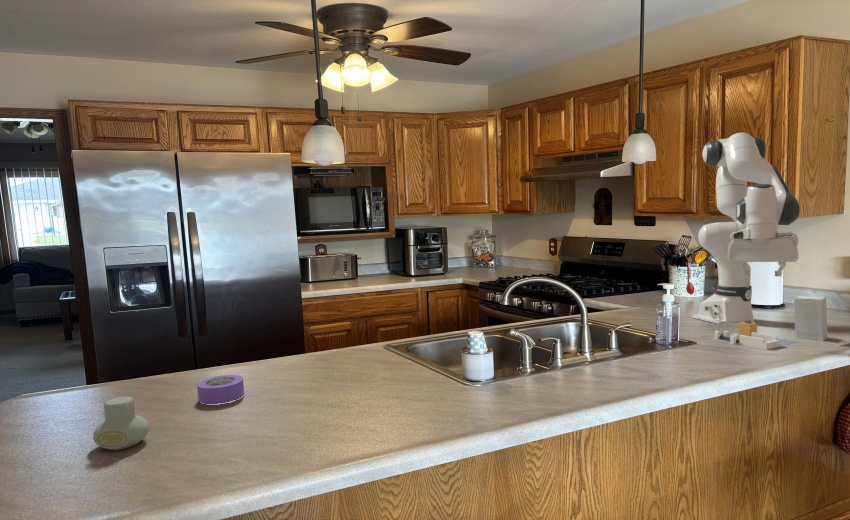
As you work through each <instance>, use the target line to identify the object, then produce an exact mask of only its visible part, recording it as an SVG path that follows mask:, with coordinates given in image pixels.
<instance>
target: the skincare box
mask: <svg viewBox="0 0 850 520" xmlns="http://www.w3.org/2000/svg"><path fill="white" fill-rule="evenodd" d="M793 302H794V305H793V307H794V308H793V309H794V338H795V339H801V340H810V341H820V342H824V341H825V340H827V339H828V321H827V320H828V319H827V316H828V315H827V313H828V312H827V296H821V295H820V296H817V295H816V296H815V295H814V296H813V295H798V296H795V297H794V299H793Z"/></svg>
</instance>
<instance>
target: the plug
mask: <svg viewBox="0 0 850 520" xmlns="http://www.w3.org/2000/svg"><path fill="white" fill-rule="evenodd" d="M737 332H738V335H745V336H750V337H751V332H755V333H758V323H757V322H754V323H753V322H751V320H745V322H740V323H739V322H738V330H737Z"/></svg>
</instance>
